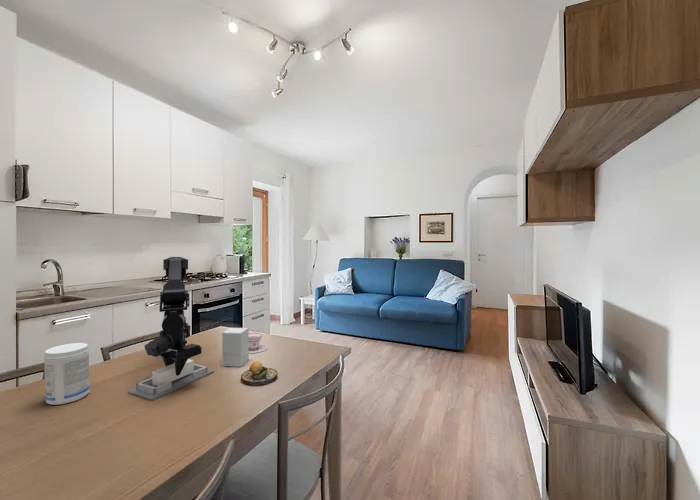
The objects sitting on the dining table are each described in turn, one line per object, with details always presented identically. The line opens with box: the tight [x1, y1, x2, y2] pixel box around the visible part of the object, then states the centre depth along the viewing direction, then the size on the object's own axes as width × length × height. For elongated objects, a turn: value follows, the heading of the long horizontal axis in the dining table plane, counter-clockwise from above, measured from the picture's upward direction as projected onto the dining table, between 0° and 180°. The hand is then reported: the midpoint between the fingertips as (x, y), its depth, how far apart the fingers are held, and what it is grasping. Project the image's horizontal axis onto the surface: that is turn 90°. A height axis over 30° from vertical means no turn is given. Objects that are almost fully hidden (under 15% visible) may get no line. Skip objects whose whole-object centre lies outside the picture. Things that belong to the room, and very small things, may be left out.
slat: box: [151, 358, 195, 386], centre depth 101 cm, size 4×12×4 cm, turn 156°
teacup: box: [249, 332, 268, 354], centre depth 134 cm, size 12×12×6 cm
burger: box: [240, 359, 278, 387], centre depth 105 cm, size 12×12×8 cm
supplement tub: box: [43, 342, 91, 406], centre depth 90 cm, size 10×10×15 cm
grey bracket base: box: [127, 363, 215, 402], centre depth 101 cm, size 11×22×2 cm, turn 156°
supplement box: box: [221, 327, 250, 368], centre depth 118 cm, size 7×7×13 cm
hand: (174, 374), depth 101 cm, fingers closed on slat, 3 cm apart
